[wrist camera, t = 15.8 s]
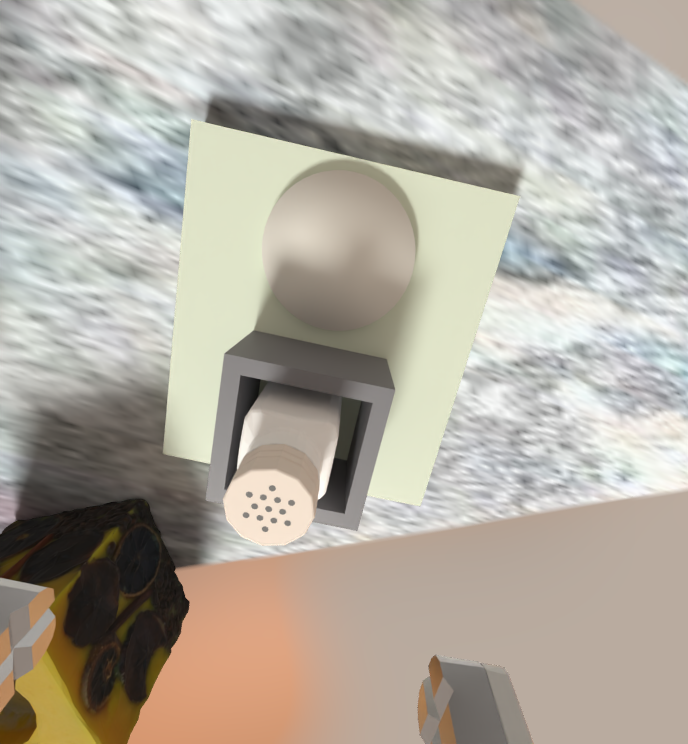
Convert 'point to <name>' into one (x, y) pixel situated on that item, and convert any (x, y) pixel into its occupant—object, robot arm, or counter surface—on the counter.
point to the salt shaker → (283, 463)
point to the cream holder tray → (326, 306)
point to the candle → (93, 622)
